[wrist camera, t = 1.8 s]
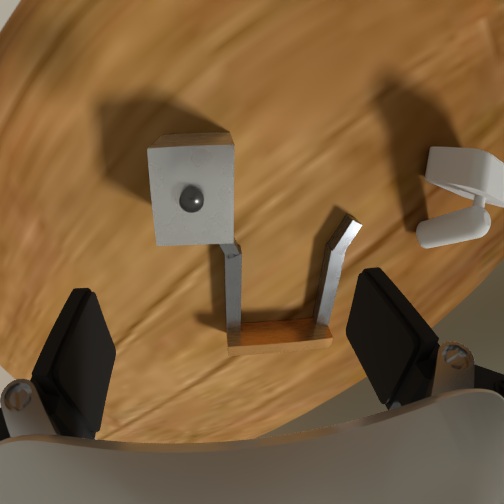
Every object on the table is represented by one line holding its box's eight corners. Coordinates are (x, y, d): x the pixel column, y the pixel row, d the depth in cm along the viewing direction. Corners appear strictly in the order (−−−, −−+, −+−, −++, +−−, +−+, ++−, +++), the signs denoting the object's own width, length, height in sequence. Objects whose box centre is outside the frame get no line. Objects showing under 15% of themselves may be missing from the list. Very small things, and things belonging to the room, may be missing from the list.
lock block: (162, 134, 22) (145, 150, 17) (229, 131, 23) (235, 146, 17) (167, 212, 26) (155, 250, 20) (229, 210, 27) (234, 247, 21)
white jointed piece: (393, 239, 29) (458, 271, 20) (413, 145, 27) (484, 148, 17) (440, 250, 31) (500, 279, 22) (458, 168, 28) (523, 178, 19)
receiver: (209, 214, 26) (209, 232, 23) (356, 213, 28) (372, 229, 25) (215, 333, 34) (216, 356, 31) (331, 324, 36) (340, 345, 33)
